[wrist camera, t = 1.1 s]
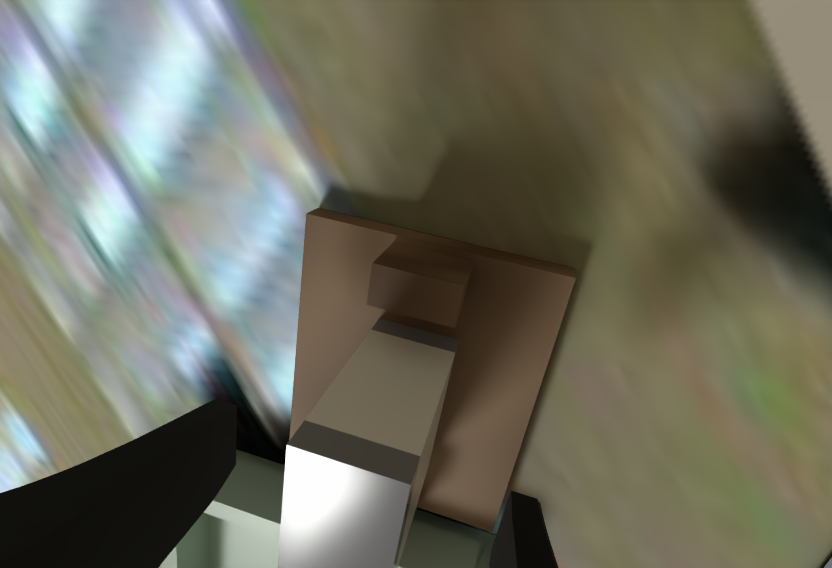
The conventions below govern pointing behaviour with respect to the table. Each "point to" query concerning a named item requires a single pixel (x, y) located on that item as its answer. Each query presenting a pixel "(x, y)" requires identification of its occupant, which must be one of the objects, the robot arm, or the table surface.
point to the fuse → (365, 452)
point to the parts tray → (261, 520)
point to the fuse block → (445, 315)
